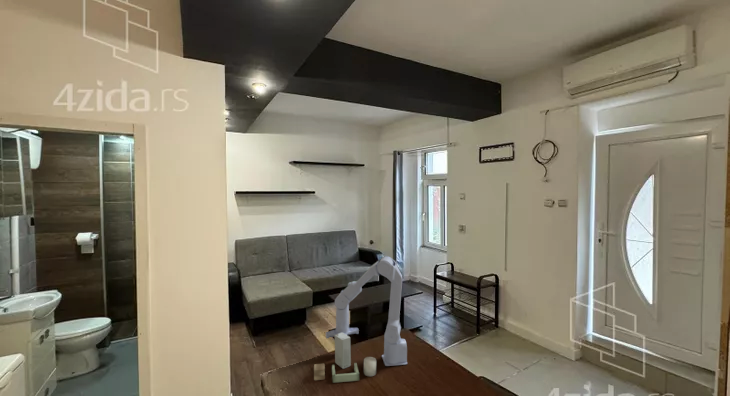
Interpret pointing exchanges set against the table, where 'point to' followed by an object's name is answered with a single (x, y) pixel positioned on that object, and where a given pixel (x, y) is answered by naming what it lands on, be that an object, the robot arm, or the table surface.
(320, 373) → the beech block
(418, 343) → the table surface
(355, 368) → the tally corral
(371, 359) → the cream rounded block
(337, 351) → the skincare box
